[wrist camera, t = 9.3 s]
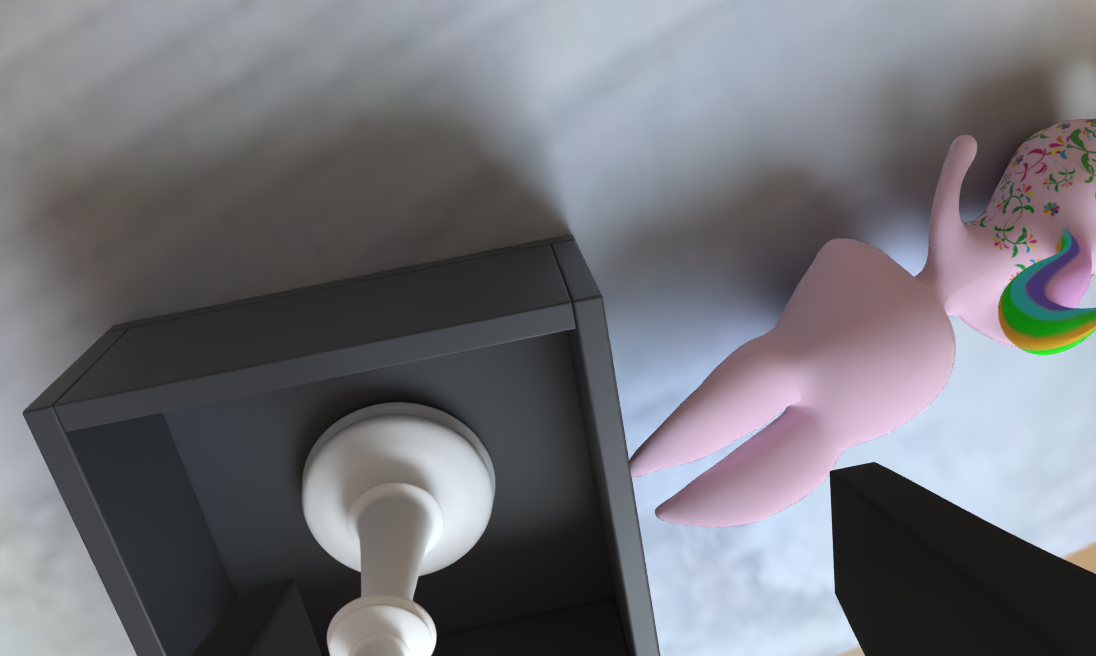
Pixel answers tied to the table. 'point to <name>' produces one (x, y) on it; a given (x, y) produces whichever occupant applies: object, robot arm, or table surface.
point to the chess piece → (395, 516)
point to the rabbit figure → (888, 333)
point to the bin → (321, 400)
